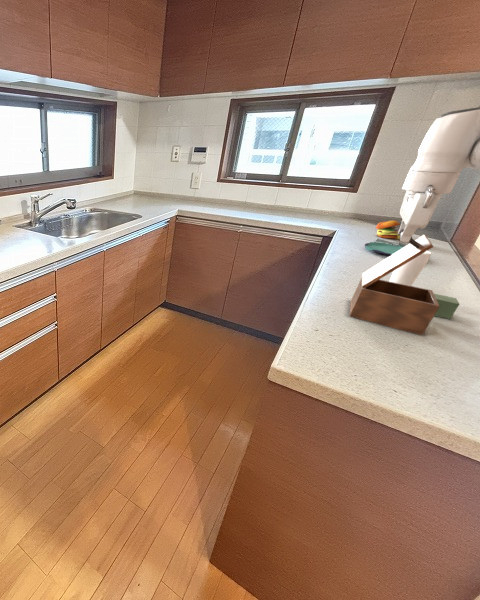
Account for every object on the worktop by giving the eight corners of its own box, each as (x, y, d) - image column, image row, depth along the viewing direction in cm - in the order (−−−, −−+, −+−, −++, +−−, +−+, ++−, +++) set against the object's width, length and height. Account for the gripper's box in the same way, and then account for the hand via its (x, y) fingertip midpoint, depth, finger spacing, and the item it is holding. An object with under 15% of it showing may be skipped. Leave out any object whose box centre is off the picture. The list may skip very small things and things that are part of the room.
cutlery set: (358, 251, 150) (360, 247, 149) (371, 240, 168) (373, 236, 167) (416, 263, 137) (419, 258, 136) (423, 250, 155) (426, 245, 154)
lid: (426, 236, 88) (409, 223, 89) (433, 246, 79) (414, 232, 80) (364, 275, 99) (349, 263, 100) (364, 288, 90) (348, 275, 91)
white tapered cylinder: (403, 290, 111) (426, 249, 104) (412, 298, 106) (436, 255, 99) (379, 287, 114) (399, 246, 107) (386, 294, 108) (408, 251, 101)
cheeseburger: (395, 240, 168) (398, 221, 165) (370, 240, 177) (372, 221, 175) (404, 238, 172) (407, 219, 170) (379, 238, 181) (381, 219, 179)
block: (447, 312, 98) (456, 298, 95) (450, 319, 94) (459, 304, 92) (424, 307, 100) (432, 293, 98) (426, 313, 97) (435, 298, 95)
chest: (416, 317, 95) (432, 290, 91) (422, 335, 86) (439, 306, 82) (350, 301, 103) (362, 275, 99) (349, 316, 94) (362, 288, 90)
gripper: (454, 189, 71) (423, 250, 77) (439, 181, 85) (414, 233, 92) (415, 186, 74) (389, 245, 81) (407, 179, 89) (385, 229, 95)
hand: (402, 238), depth 86 cm, fingers closed on lid, 5 cm apart
